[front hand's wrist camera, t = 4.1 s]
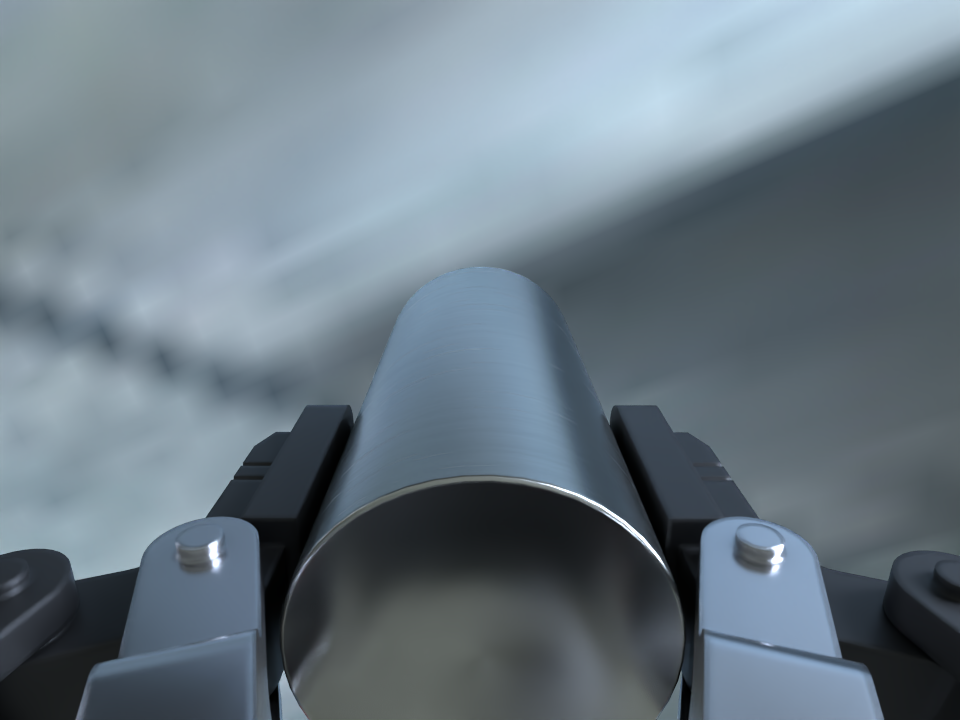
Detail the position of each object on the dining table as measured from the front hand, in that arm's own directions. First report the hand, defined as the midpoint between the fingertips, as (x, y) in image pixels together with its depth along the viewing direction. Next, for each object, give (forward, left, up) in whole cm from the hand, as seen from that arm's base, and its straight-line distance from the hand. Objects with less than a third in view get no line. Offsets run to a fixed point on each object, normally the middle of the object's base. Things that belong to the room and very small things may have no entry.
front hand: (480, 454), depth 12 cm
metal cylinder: (0, 0, -5) cm, 5 cm away
